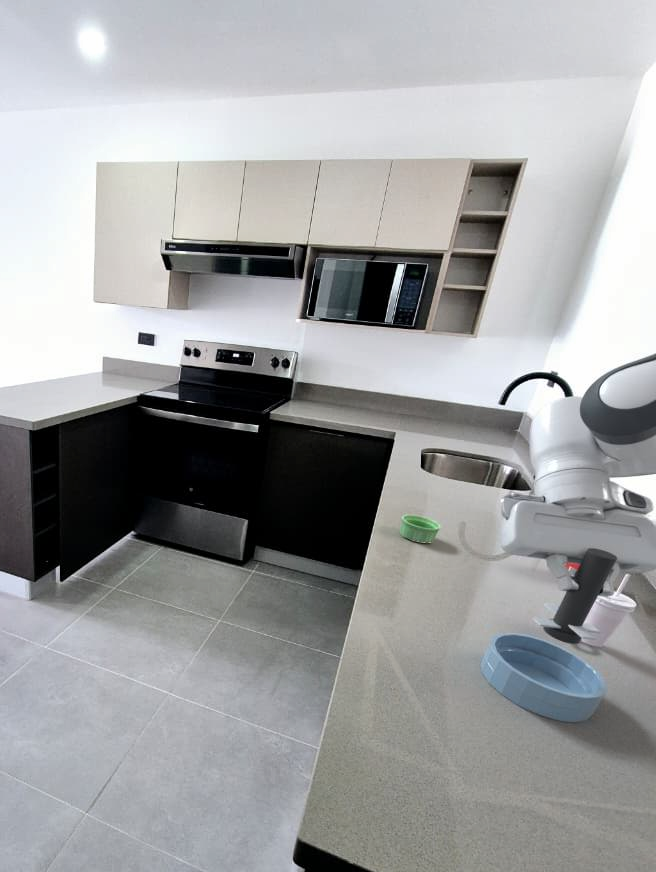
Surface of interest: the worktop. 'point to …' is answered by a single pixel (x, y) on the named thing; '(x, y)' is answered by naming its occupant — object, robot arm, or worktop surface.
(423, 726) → the worktop surface
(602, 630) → the smoothie
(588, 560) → the black cylinder
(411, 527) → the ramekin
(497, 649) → the shallow blue bowl
